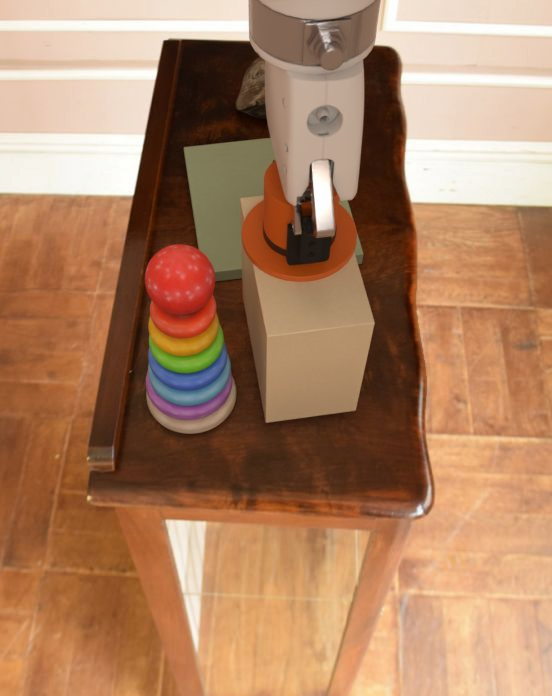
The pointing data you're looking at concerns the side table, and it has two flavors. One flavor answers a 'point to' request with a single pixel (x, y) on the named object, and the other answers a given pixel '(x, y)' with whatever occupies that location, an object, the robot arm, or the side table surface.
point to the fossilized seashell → (253, 91)
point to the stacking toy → (186, 343)
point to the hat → (271, 235)
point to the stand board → (228, 197)
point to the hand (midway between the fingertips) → (299, 227)
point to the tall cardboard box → (306, 337)
